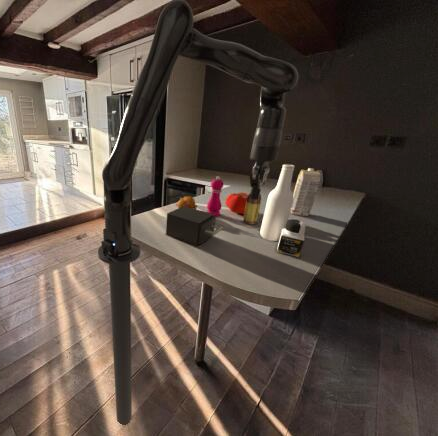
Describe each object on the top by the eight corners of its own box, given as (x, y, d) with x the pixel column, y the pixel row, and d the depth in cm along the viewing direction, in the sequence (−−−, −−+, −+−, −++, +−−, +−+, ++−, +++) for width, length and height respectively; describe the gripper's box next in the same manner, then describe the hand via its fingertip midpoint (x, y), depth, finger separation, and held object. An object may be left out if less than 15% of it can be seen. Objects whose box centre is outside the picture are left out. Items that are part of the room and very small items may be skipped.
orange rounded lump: (201, 212, 123) (201, 195, 118) (190, 222, 117) (189, 205, 111) (185, 207, 129) (184, 191, 124) (174, 216, 123) (172, 200, 117)
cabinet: (211, 235, 98) (214, 214, 94) (196, 245, 89) (199, 223, 85) (181, 225, 107) (183, 205, 103) (165, 234, 98) (167, 213, 94)
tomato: (235, 205, 135) (238, 188, 131) (260, 214, 122) (264, 196, 118) (218, 209, 128) (220, 192, 124) (243, 219, 115) (246, 200, 111)
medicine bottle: (276, 251, 86) (284, 222, 82) (278, 244, 92) (285, 216, 87) (299, 257, 83) (308, 227, 78) (299, 249, 88) (308, 220, 84)
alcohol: (255, 234, 99) (270, 164, 88) (267, 230, 103) (284, 162, 92) (274, 243, 92) (293, 167, 81) (287, 238, 96) (307, 166, 85)
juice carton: (308, 212, 126) (321, 168, 117) (309, 217, 119) (324, 171, 110) (288, 209, 130) (300, 166, 121) (289, 214, 123) (301, 169, 114)
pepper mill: (217, 217, 116) (223, 178, 109) (204, 214, 120) (208, 176, 112) (221, 213, 122) (227, 175, 115) (208, 210, 126) (213, 174, 118)
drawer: (223, 237, 94) (225, 220, 91) (210, 248, 86) (213, 229, 83) (185, 225, 105) (187, 209, 102) (171, 233, 96) (172, 216, 93)
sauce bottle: (251, 219, 115) (259, 180, 108) (259, 224, 110) (268, 183, 102) (239, 220, 114) (247, 180, 106) (247, 225, 108) (255, 183, 101)
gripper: (259, 142, 77) (249, 192, 83) (246, 144, 67) (236, 201, 74) (284, 144, 72) (272, 197, 79) (274, 146, 63) (260, 206, 69)
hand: (254, 198), depth 76 cm, fingers closed
